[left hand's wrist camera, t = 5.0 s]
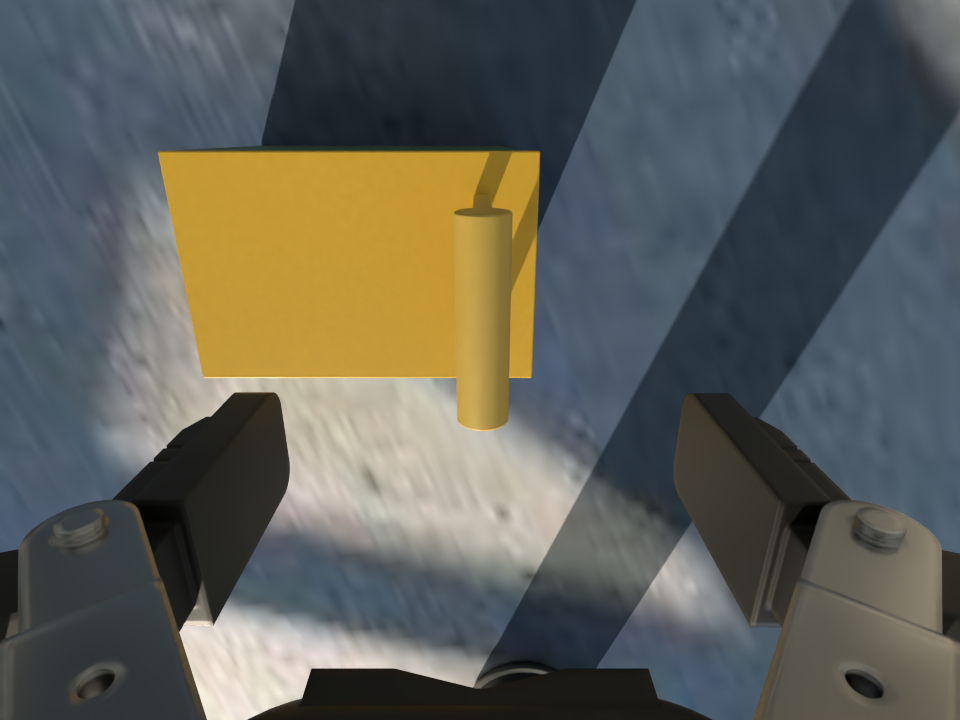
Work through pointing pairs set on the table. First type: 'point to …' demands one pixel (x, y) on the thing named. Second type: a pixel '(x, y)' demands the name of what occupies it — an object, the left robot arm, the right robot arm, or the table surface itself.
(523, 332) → the lid
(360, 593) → the table surface
